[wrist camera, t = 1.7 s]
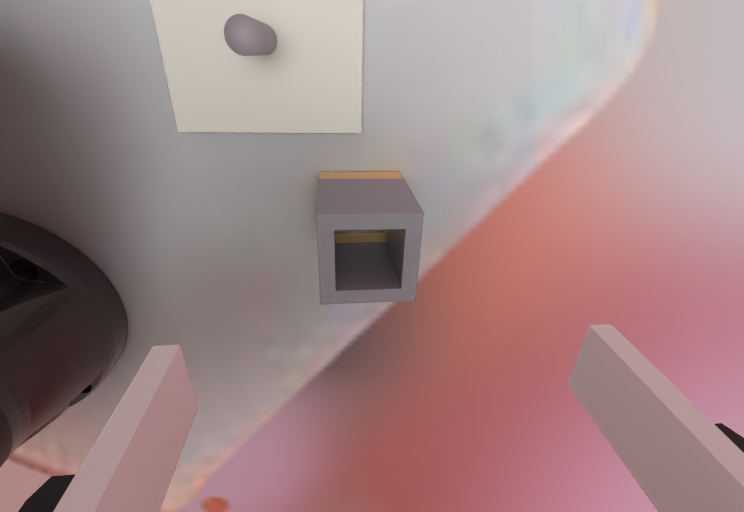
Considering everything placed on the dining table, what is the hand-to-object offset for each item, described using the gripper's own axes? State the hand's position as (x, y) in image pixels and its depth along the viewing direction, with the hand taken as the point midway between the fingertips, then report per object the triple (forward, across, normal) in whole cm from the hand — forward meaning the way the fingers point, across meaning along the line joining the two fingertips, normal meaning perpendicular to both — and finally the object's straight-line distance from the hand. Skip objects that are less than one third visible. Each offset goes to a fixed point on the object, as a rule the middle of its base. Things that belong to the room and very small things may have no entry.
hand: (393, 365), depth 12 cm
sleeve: (+14, 0, 0) cm, 14 cm away
